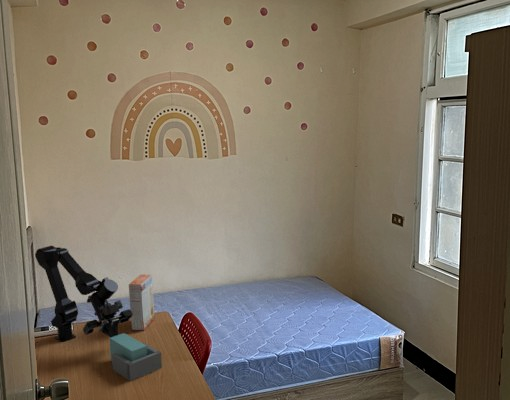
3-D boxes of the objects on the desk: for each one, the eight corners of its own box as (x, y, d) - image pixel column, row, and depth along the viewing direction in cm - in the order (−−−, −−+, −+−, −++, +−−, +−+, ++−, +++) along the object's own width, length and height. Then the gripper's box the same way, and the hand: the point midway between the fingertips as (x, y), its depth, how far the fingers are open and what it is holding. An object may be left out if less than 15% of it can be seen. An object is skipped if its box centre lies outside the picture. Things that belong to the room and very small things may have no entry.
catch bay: (112, 369, 180) (111, 354, 179) (143, 357, 189) (143, 342, 188) (130, 381, 172) (129, 364, 171) (161, 367, 181) (161, 352, 180)
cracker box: (142, 318, 228) (140, 273, 225) (155, 318, 227) (152, 274, 224) (130, 330, 214) (127, 283, 211) (144, 331, 213) (141, 284, 210)
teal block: (110, 360, 187) (109, 337, 186) (125, 355, 191) (123, 333, 190) (133, 375, 176) (132, 351, 175) (148, 369, 180) (146, 345, 179)
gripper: (84, 301, 183) (101, 339, 177) (129, 289, 196) (146, 323, 190) (76, 316, 190) (91, 352, 184) (119, 303, 203) (135, 337, 197)
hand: (117, 341), depth 189 cm, fingers closed
